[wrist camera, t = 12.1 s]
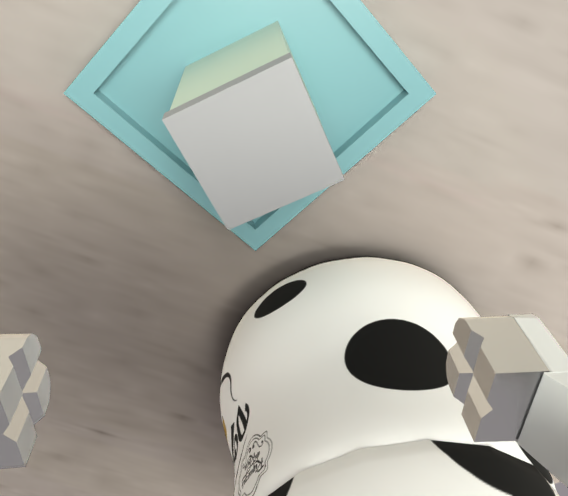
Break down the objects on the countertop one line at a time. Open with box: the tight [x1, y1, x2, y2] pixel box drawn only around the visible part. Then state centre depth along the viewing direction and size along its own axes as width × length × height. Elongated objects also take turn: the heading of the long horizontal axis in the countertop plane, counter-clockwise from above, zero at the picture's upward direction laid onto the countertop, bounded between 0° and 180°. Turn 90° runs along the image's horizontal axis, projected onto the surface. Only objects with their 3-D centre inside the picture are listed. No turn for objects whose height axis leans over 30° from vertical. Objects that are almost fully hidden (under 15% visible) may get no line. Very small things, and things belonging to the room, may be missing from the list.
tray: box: [64, 0, 436, 251], centre depth 27 cm, size 13×13×1 cm
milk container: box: [220, 256, 559, 496], centre depth 30 cm, size 17×17×18 cm
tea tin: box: [162, 21, 345, 230], centre depth 24 cm, size 5×5×8 cm
